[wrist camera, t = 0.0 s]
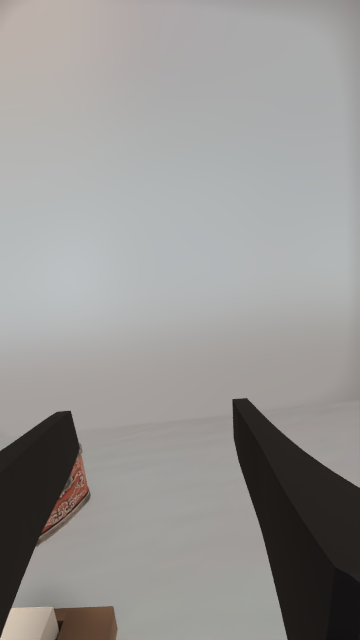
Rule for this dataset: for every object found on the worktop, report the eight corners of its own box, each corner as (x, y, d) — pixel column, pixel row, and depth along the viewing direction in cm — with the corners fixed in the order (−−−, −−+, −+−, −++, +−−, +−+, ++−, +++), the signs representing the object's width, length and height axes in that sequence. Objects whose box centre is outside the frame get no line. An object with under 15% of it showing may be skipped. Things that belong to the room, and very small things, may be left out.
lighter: (31, 555, 26) (11, 475, 24) (18, 537, 28) (-2, 462, 26) (96, 497, 32) (83, 430, 30) (81, 485, 34) (69, 422, 32)
